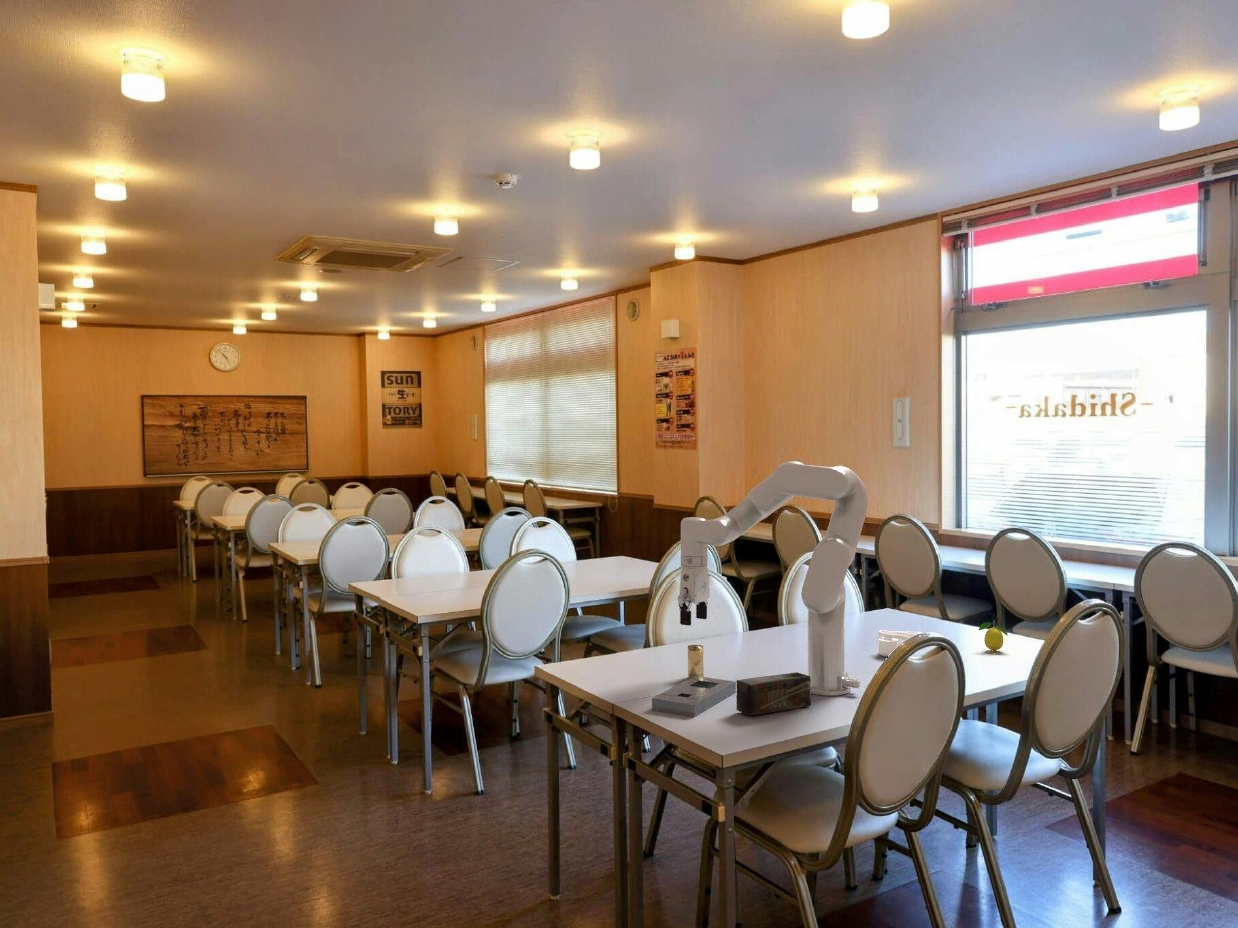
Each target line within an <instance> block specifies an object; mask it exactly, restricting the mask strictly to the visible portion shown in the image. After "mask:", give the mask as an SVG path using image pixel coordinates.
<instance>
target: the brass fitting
mask: <svg viewBox="0 0 1238 928" xmlns="http://www.w3.org/2000/svg"><path fill="white" fill-rule="evenodd" d="M704 669H705V668H704V645H701V644H689V645H687V678H688V679H690V678H692V677H694V676H700V677H705V675H704V671H705V670H704ZM688 679H687V680H688Z"/></svg>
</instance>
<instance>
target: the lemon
mask: <svg viewBox="0 0 1238 928" xmlns="http://www.w3.org/2000/svg"><path fill="white" fill-rule="evenodd" d="M992 624H993V626H992V627H991V628H989V629H988V630H986V632H985V634H984V645H985V647H986V648H987V649H989V650H991V651H992V652H993V653H994V652H995V653H996V652H997V651H998V650H1000V649H1002V648H1003V646H1004V636H1003V634H1004V635H1006V636H1009V635H1008V632H1007V630H1006V629H1005V628H1004V627H1003V626H1000V625H995V621H993V622H983V623H982V624H981V625H980V626H979V628H978V631H983V630H985V629H987V628H988V627H990V626H991V625H992Z"/></svg>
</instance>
